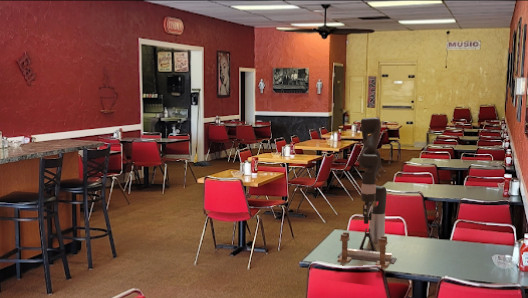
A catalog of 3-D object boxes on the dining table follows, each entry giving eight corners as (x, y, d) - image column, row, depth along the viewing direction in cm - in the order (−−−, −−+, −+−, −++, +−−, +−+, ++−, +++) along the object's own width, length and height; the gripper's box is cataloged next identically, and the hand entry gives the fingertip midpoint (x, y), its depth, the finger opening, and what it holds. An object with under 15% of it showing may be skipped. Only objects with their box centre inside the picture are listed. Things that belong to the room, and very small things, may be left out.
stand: (340, 258, 306) (340, 231, 304) (389, 264, 296) (390, 236, 294) (337, 261, 300) (337, 234, 298) (387, 267, 290) (387, 239, 289)
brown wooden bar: (344, 253, 313) (344, 248, 312) (391, 258, 303) (392, 253, 303) (342, 254, 310) (342, 249, 310) (390, 260, 300) (391, 254, 300)
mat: (341, 252, 316) (341, 251, 316) (396, 259, 305) (396, 257, 305) (337, 257, 308) (337, 256, 308) (393, 263, 296) (393, 262, 296)
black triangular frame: (358, 251, 319) (359, 230, 318) (359, 248, 325) (360, 227, 324) (375, 252, 317) (375, 231, 316) (375, 249, 323) (376, 228, 322)
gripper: (364, 189, 310) (363, 218, 312) (358, 193, 297) (357, 224, 299) (378, 190, 307) (377, 219, 309) (372, 194, 294) (372, 225, 296)
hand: (367, 221), depth 304 cm, fingers open, 8 cm apart
